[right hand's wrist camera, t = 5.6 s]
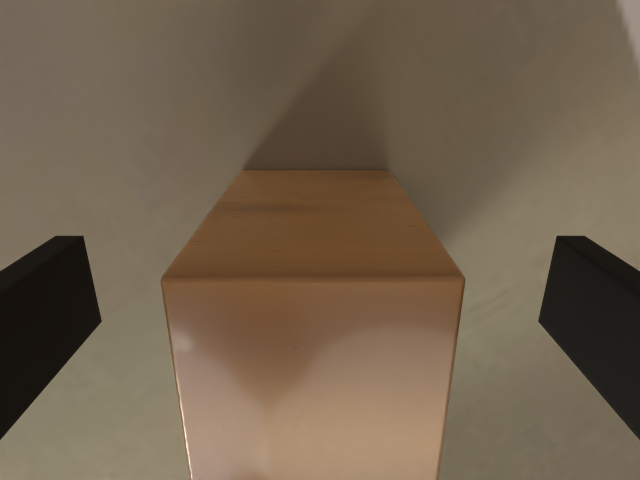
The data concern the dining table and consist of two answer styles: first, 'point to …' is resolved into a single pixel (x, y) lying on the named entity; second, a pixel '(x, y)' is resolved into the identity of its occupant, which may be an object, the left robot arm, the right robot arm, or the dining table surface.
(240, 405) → the block
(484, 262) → the dining table surface
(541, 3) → the dining table surface
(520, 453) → the dining table surface
